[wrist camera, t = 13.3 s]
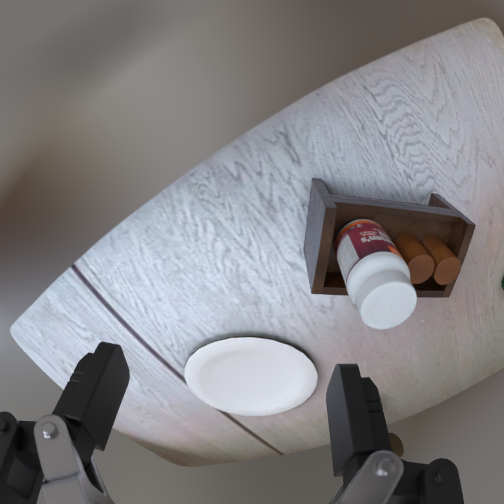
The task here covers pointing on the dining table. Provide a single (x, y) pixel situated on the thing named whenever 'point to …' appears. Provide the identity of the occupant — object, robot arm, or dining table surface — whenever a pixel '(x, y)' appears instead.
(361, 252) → the pill bottle
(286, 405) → the plate
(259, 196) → the dining table surface
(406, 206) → the spice rack
